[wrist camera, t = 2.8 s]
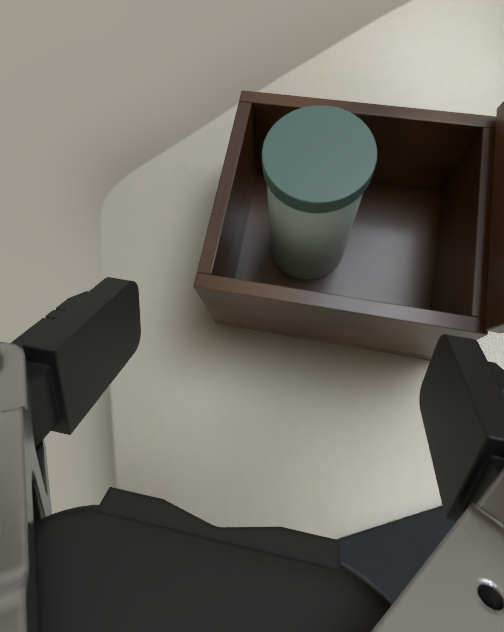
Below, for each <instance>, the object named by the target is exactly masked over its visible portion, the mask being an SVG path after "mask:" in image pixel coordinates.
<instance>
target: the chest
mask: <svg viewBox="0 0 504 632" xmlns="http://www.w3.org/2000/svg"><path fill="white" fill-rule="evenodd" d="M314 105H326V106H333V107H338V108H341V109H344V110H346V111H348V112H350V113H352V114H354V115H355V116H357V117H358V118H359V119H361V120H362V121H363V122H364V123H365V124H366V125H367V127H368V128H369V129H370V131H371V133H372V134H373V137H374V139H375V142H376V146H377V162H376V166H375V169H374V172H373V175H372V178H371V181H370V183H369V185H368V187H367V188H366V190H365V191H364V193H363V195H362V198H361V201H360V204H359V208H358V211H357V214H356V217H355V220H354V223H353V226H352V229H351V232H350V235H349V238H348V241H347V244H346V247H345V250H344V254H343V257H342V259H341V261H340V263H339V264H338V266H337V267H336V268H335V269H334V270H333V271H332V272H330V273H329V274H327V275H325V276H323V277H320V278H317V279H299V278H295V277H293V276H290V275H288V274H287V273H285V272H284V271H283V270H282V269H281V268H280V267H279V266H278V265H277V264H276V262H275V260H274V258H273V255H272V251H271V239H270V224H269V209H268V194H267V184H266V181H265V178H264V175H263V166H262V148H263V143H264V140H265V138H266V136H267V134H268V132H269V131H270V129H271V128H272V126H273V125H274V124H275V123H276V122H277V121H278V120H280V119H281V118H282V117H283V116H285V115H286V114H288V113H290V112H292V111H294V110H297V109H300V108H303V107H307V106H314ZM495 136H496V117H494V116H484V115H474V114H465V113H455V112H445V111H436V110H426V109H416V108H406V107H397V106H387V105H377V104H368V103H358V102H348V101H338V100H329V99H319V98H309V97H300V96H290V95H280V94H271V93H261V92H251V91H242V92H241V96H240V100H239V104H238V108H237V112H236V116H235V120H234V124H233V128H232V132H231V136H230V140H229V145H228V149H227V153H226V157H225V161H224V165H223V169H222V173H221V177H220V181H219V185H218V189H217V193H216V197H215V201H214V206H213V210H212V214H211V218H210V222H209V226H208V230H207V234H206V238H205V242H204V246H203V250H202V254H201V258H200V262H199V266H198V271H197V274H196V278H195V282H194V288H195V289H196V291H197V293H198V294H199V296H200V298H201V299H202V301H203V303H204V304H205V306H206V308H207V309H208V311H209V313H210V314H211V316H212V318H213V319H214V321H215V322H216V323H220V324H225V325H231V326H237V327H243V328H248V329H254V330H260V331H266V332H272V333H277V334H283V335H289V336H295V337H300V338H306V339H312V340H318V341H323V342H329V343H335V344H341V345H346V346H352V347H358V348H364V349H370V350H375V351H381V352H387V353H393V354H398V355H404V356H410V357H416V358H421V359H427V360H431V358H432V355H433V352H434V350H435V347H436V344H437V342H438V339H439V338H440V336H441V335H443V334H446V335H452V336H458V337H464V338H470V339H475V340H478V339H480V338H482V337H483V336H485V335H487V334H488V331H487V330H486V310H487V290H488V271H489V252H490V232H491V213H492V194H493V174H494V155H495Z"/></svg>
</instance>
